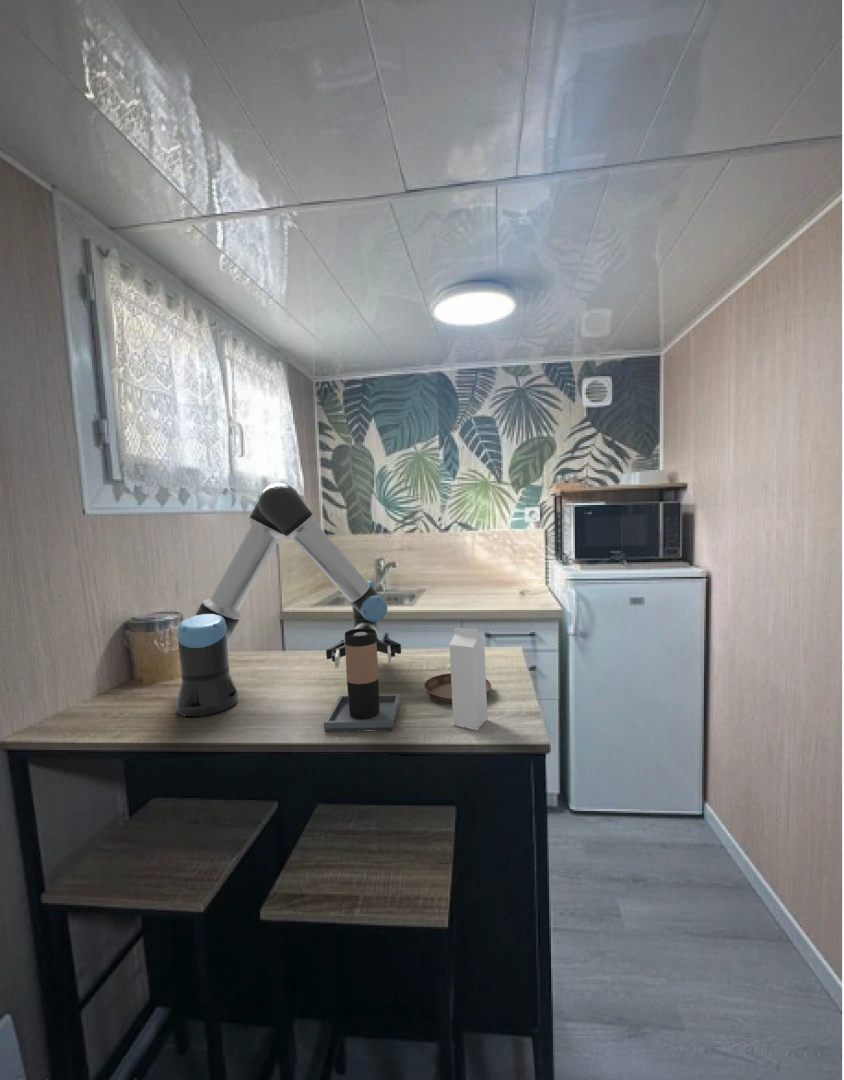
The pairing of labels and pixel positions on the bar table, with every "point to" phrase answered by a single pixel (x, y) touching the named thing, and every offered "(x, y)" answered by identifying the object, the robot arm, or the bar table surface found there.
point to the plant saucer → (443, 688)
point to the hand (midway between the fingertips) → (363, 660)
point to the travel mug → (362, 673)
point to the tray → (344, 722)
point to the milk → (468, 678)
